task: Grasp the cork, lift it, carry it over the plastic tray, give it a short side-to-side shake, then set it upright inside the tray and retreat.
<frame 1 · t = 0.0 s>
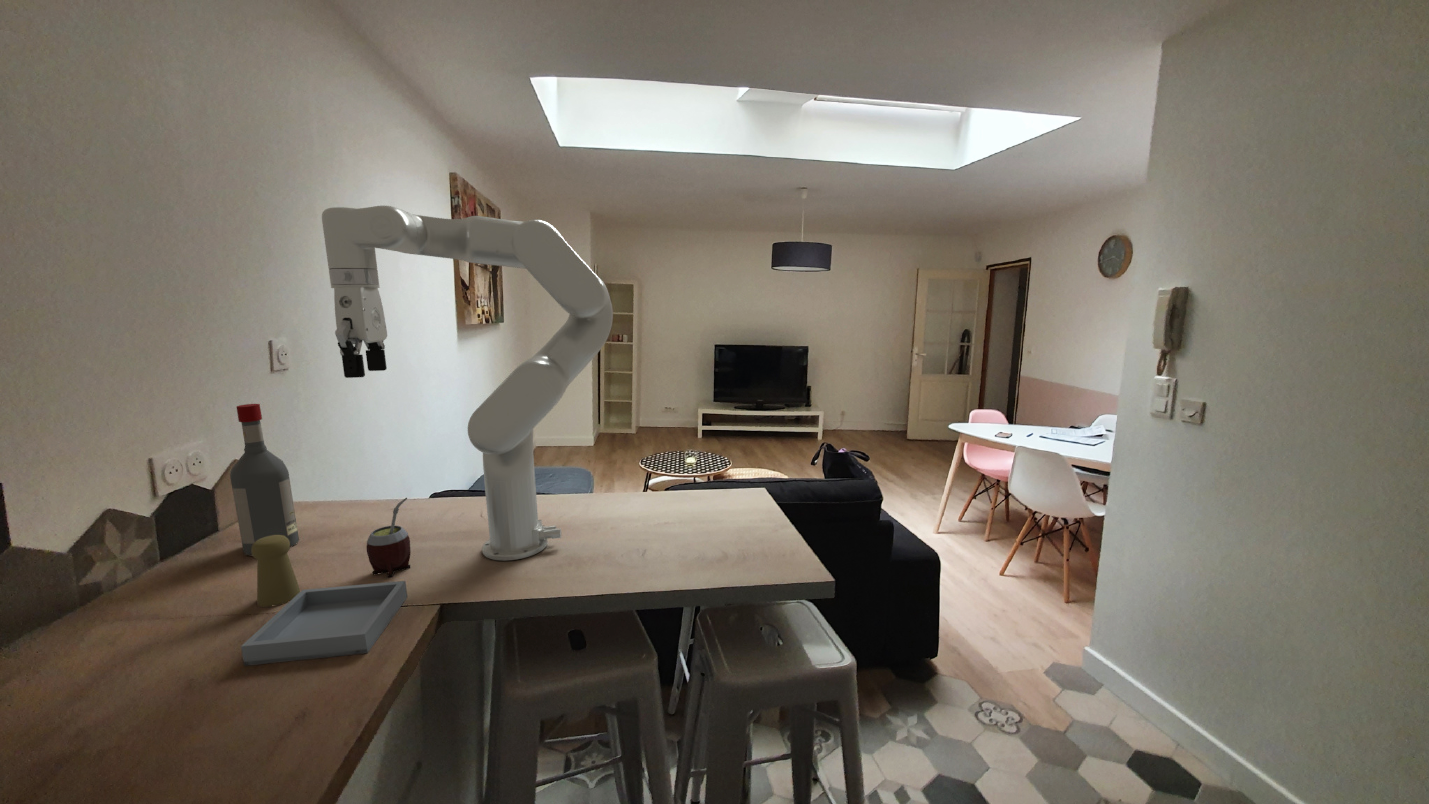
hand: (366, 373, 107), 37 cm above the breakfast bar, tool pointing down, fingers open, 9 cm apart
liquor: (271, 547, 120), on the breakfast bar
mate gourd: (394, 571, 108), on the breakfast bar
tray: (334, 627, 90), on the breakfast bar
cork: (279, 598, 99), on the breakfast bar
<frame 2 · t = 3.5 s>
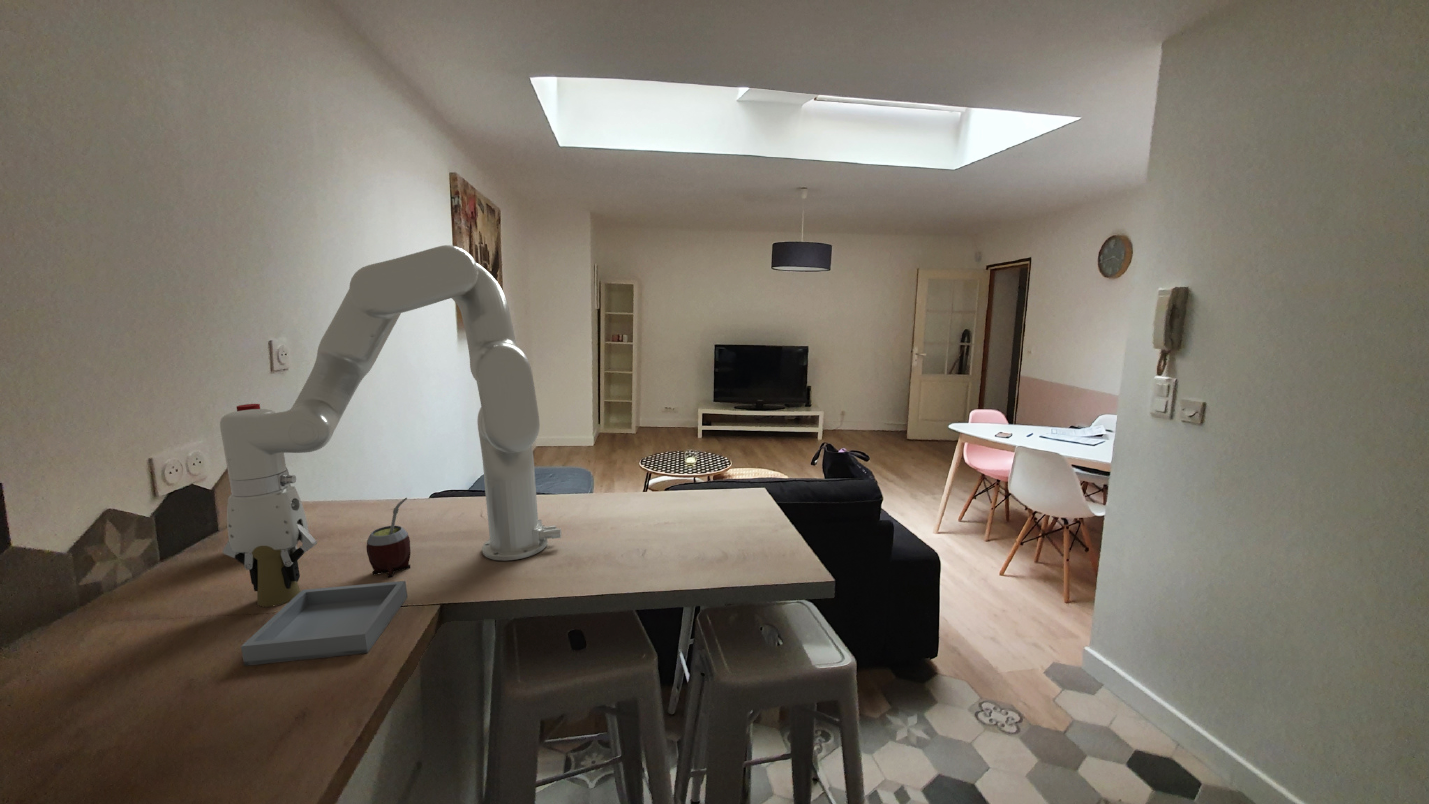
hand: (276, 585, 99), 2 cm above the breakfast bar, tool pointing down, fingers closed on cork, 3 cm apart
cork: (279, 598, 99), on the breakfast bar, touching gripper
everything else where it was.
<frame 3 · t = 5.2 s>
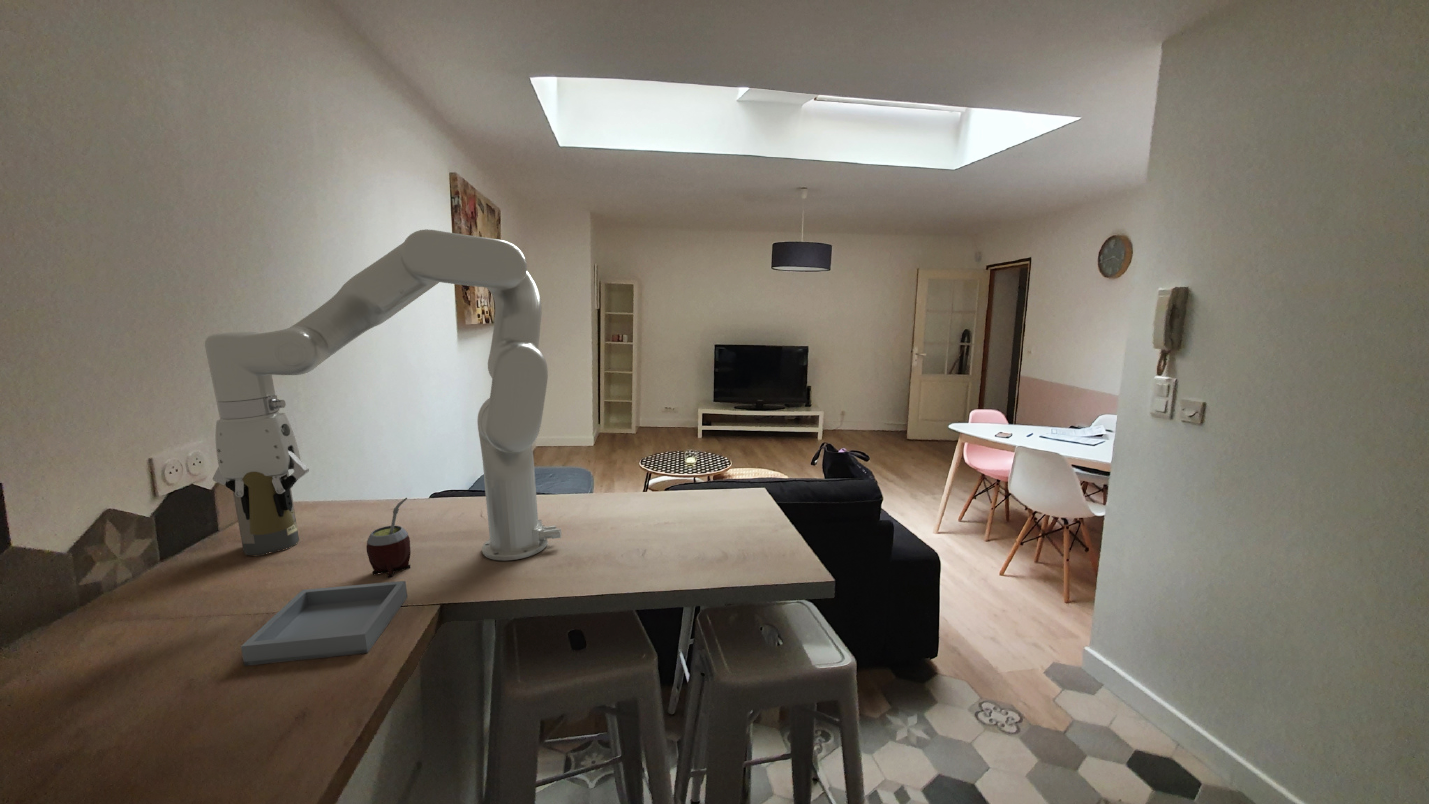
hand: (269, 514, 97), 15 cm above the breakfast bar, tool pointing down, fingers closed on cork, 3 cm apart
cork: (272, 528, 97), point 12 cm above the breakfast bar, touching gripper
everything else where it was.
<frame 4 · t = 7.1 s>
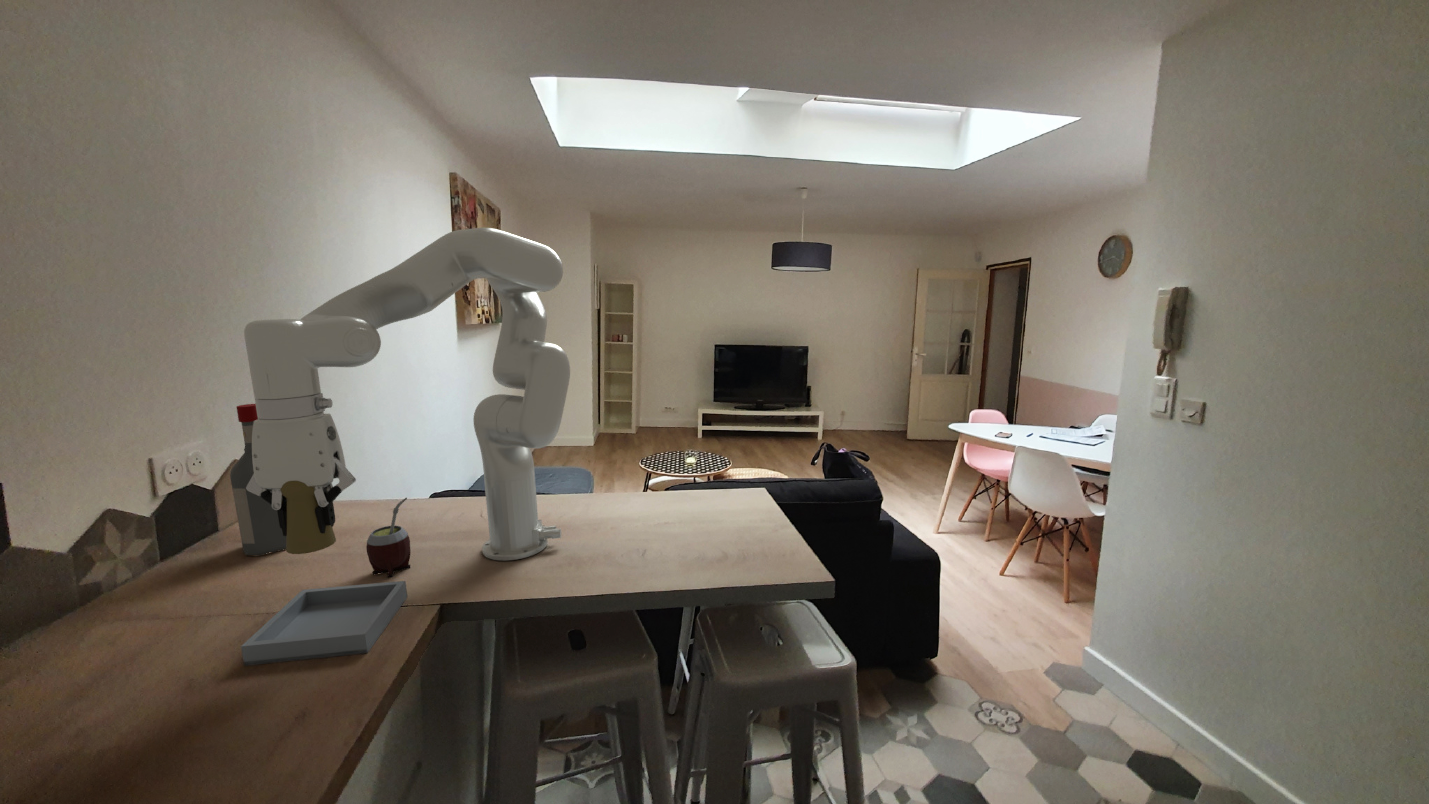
hand: (309, 530, 84), 17 cm above the breakfast bar, tool pointing down, fingers closed on cork, 3 cm apart
cork: (311, 546, 84), point 15 cm above the breakfast bar, touching gripper
everything else where it was.
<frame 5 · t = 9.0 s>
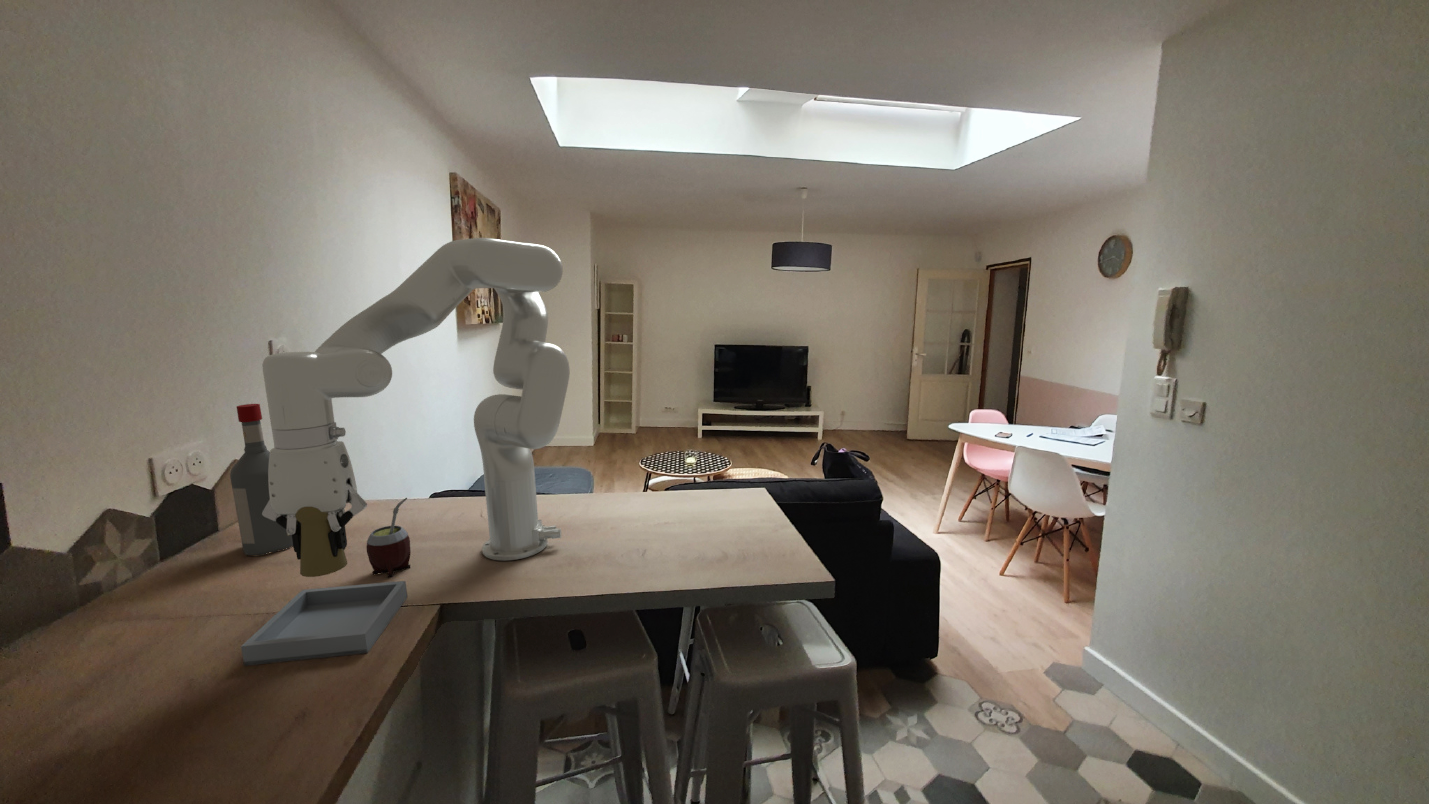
hand: (321, 553, 87), 12 cm above the breakfast bar, tool pointing down, fingers closed on cork, 3 cm apart
cork: (324, 568, 88), point 10 cm above the breakfast bar, touching gripper
everything else where it was.
when the fingers open (4 cm above the breakfast bar, at t = 10.7 s): cork drops 1 cm, resting on tray.
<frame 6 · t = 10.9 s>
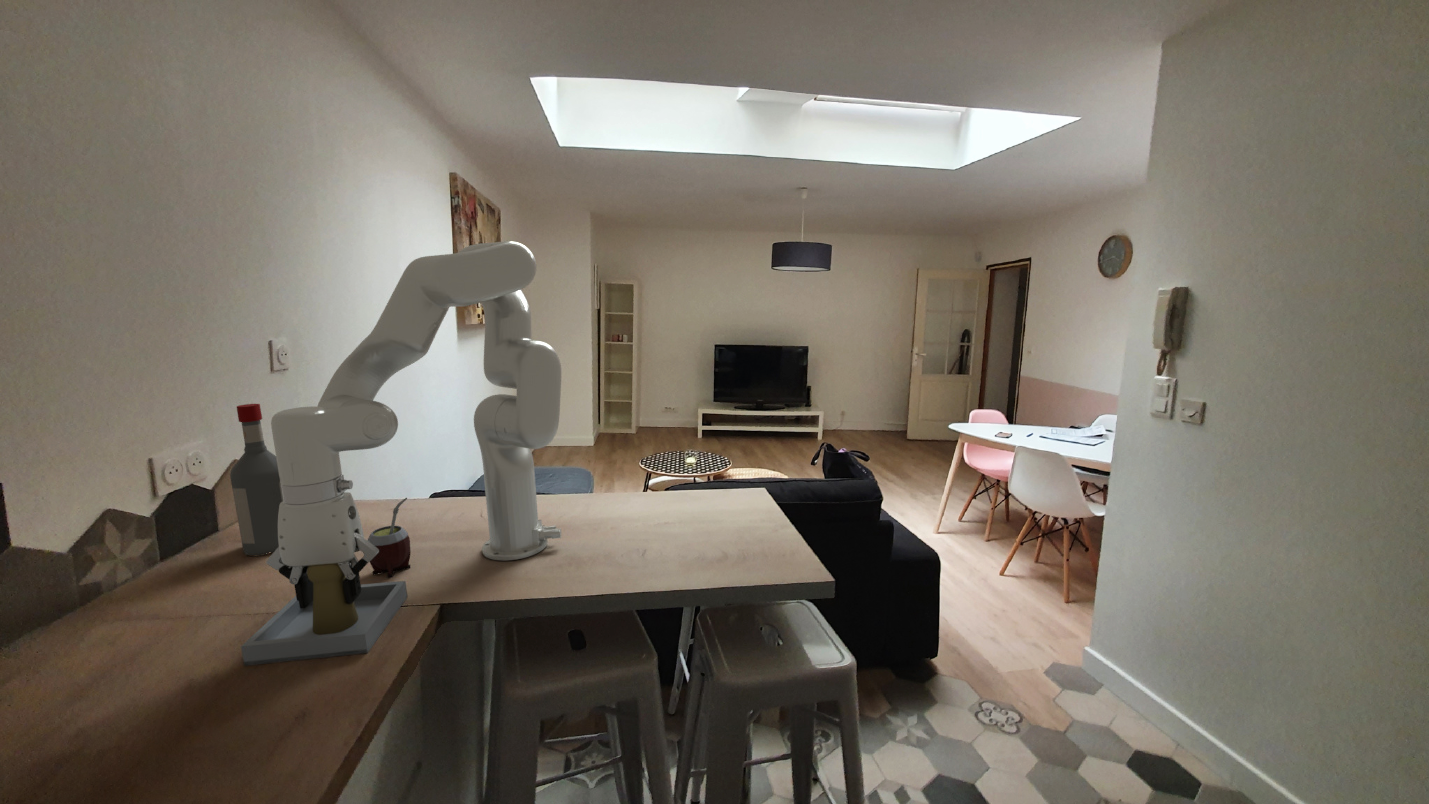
hand: (330, 600, 89), 5 cm above the breakfast bar, tool pointing down, fingers open, 5 cm apart
cork: (336, 625, 90), resting on tray
everything else where it was.
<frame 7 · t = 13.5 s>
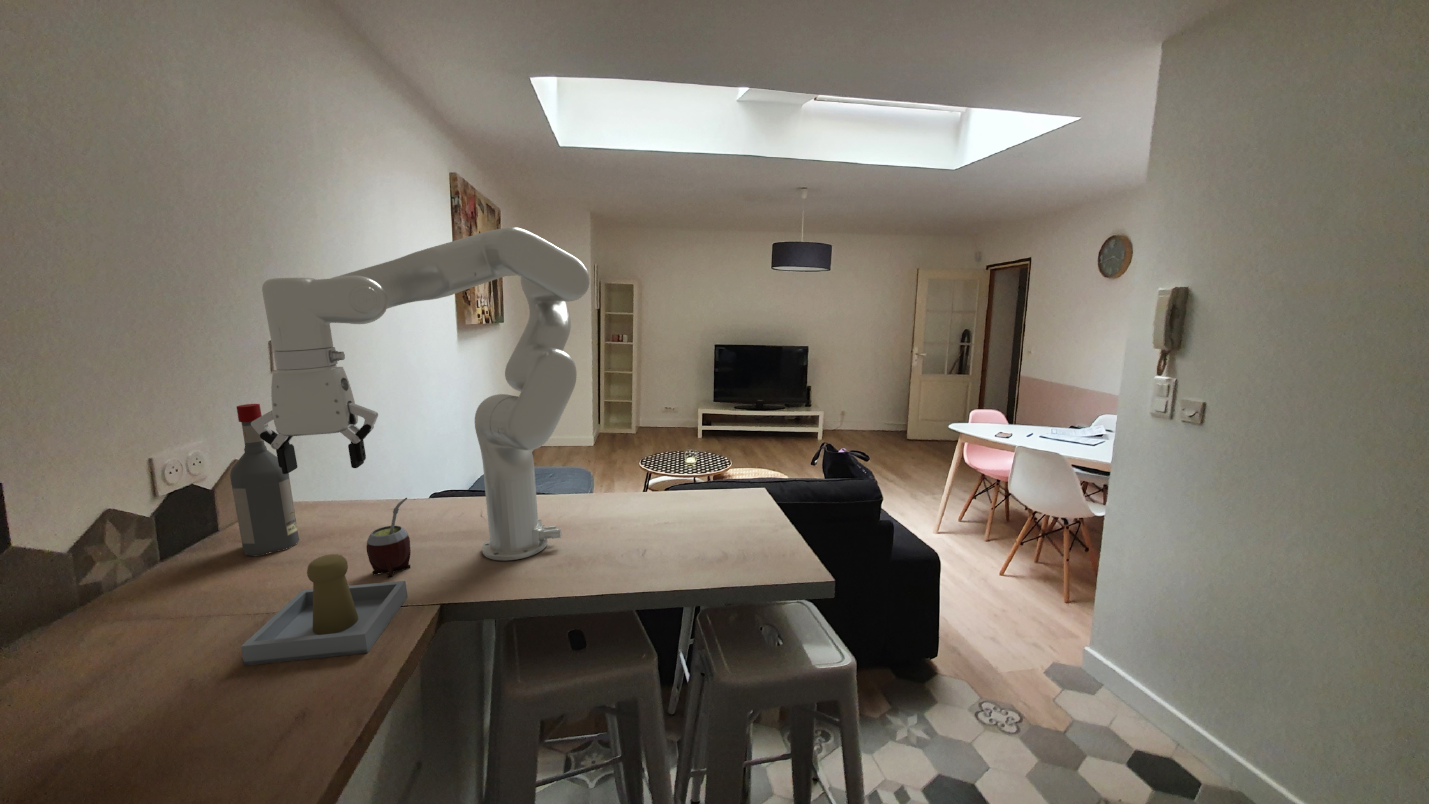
hand: (324, 468, 91), 24 cm above the breakfast bar, tool pointing down, fingers open, 9 cm apart
nothing on the breakfast bar moved.
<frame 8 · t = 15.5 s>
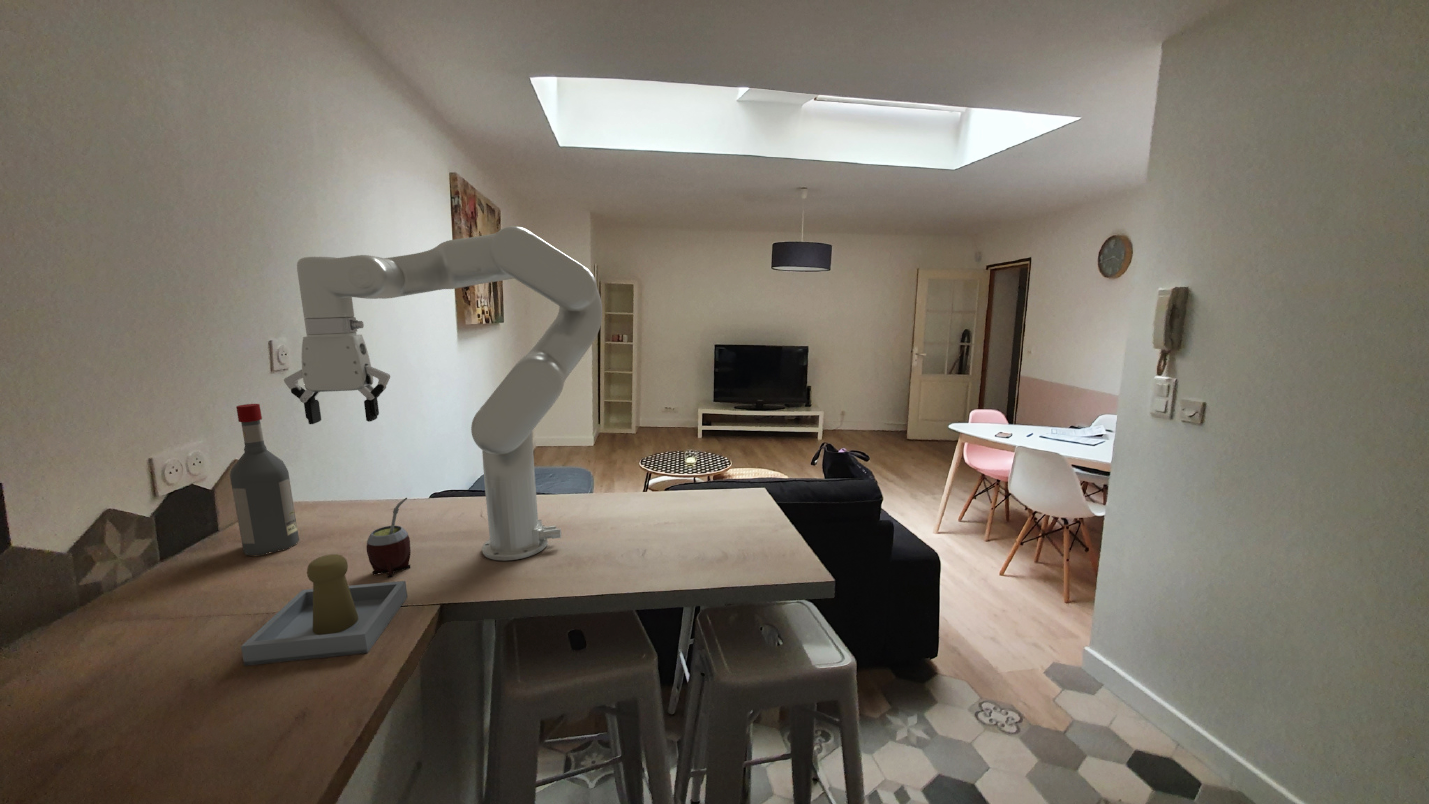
hand: (343, 421, 106), 28 cm above the breakfast bar, tool pointing down, fingers open, 9 cm apart
nothing on the breakfast bar moved.
at the end: cork inside the target area on the tray (0.3 cm from its centre), point 0.4 cm above the tray's base; cork tilted 0°; the gripper is holding nothing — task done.
